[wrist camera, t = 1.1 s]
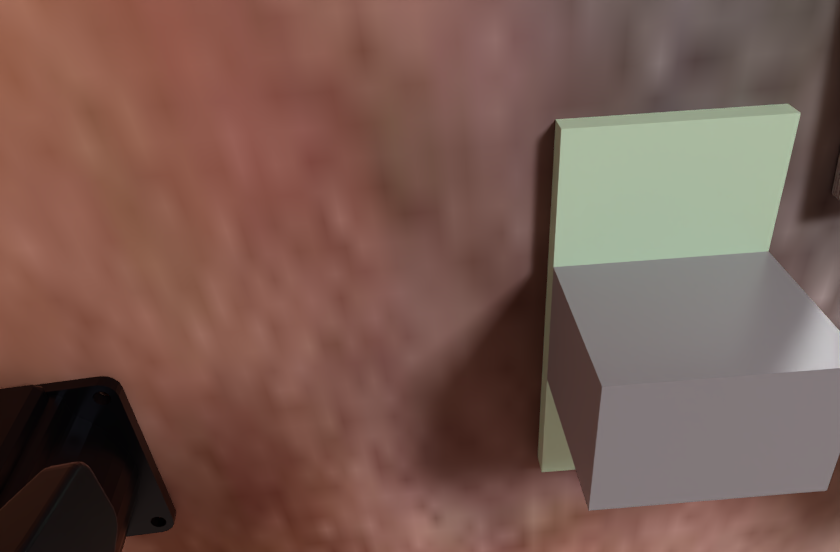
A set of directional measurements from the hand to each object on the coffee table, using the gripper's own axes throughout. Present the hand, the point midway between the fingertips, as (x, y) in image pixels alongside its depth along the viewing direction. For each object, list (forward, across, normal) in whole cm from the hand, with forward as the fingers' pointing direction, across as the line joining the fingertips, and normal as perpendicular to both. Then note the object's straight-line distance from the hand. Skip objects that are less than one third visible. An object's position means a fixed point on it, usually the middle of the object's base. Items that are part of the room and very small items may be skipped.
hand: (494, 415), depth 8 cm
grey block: (+12, -6, +8) cm, 16 cm away
